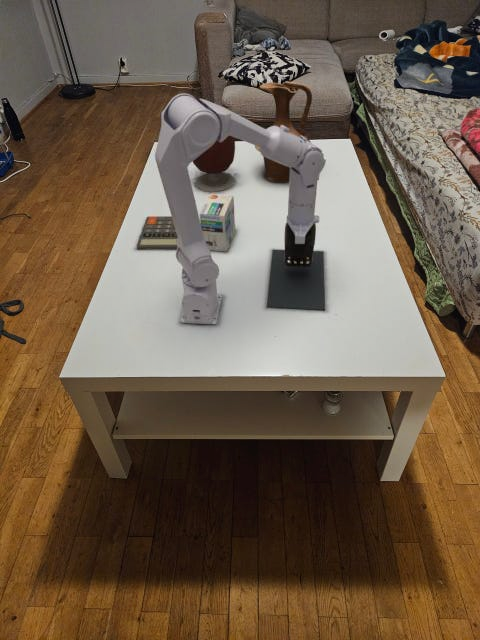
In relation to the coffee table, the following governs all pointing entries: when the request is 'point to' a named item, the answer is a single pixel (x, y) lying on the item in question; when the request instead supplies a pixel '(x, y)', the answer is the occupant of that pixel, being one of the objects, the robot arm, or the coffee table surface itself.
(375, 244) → the coffee table surface
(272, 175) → the pitcher
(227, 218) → the light bulb box
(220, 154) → the mate gourd
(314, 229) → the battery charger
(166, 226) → the calculator
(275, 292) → the mat
